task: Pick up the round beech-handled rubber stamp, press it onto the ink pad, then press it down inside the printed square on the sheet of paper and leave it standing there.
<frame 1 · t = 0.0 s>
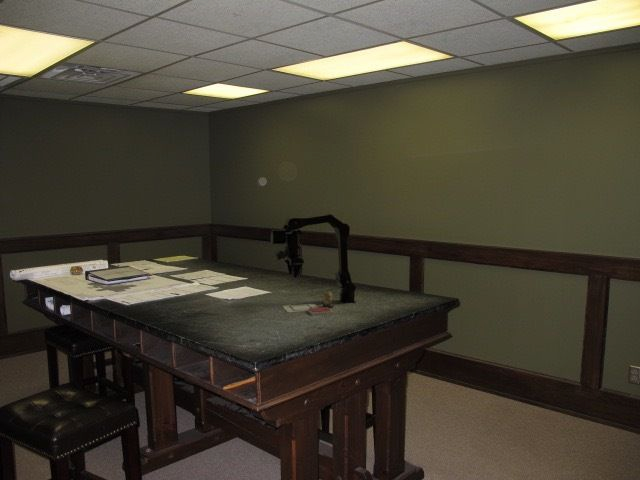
hand: (292, 275, 245), 14 cm above the table, tool pointing down, fingers open, 9 cm apart
stamp: (327, 307, 243), on the table
paper: (301, 308, 240), on the table
ink pad: (319, 312, 233), on the table
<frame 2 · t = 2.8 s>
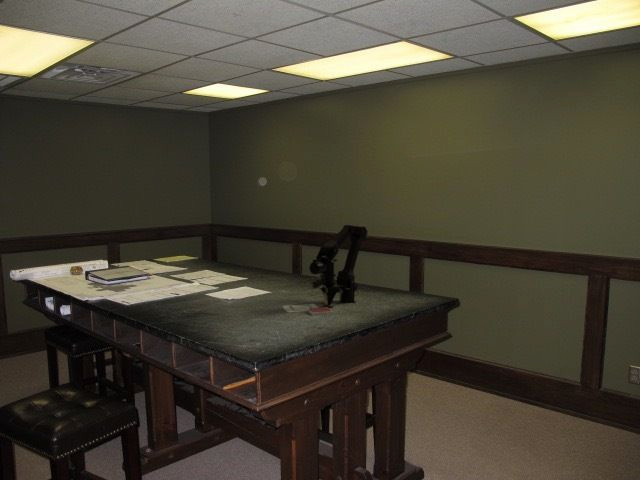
hand: (328, 303, 243), 2 cm above the table, tool pointing down, fingers closed on stamp, 4 cm apart
stamp: (327, 307, 243), on the table, touching gripper
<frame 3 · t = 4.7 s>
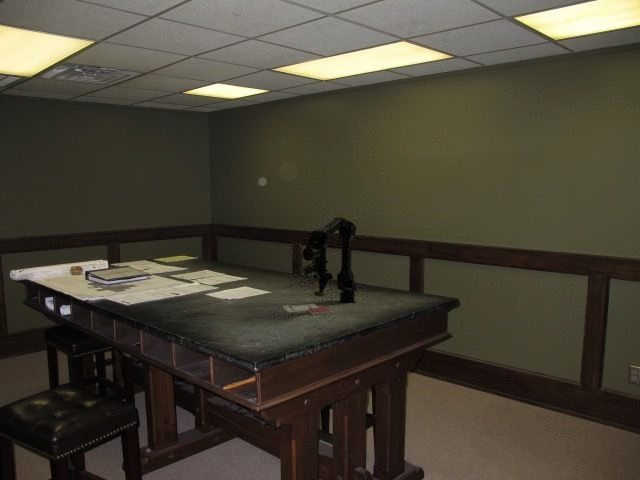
hand: (319, 291, 232), 10 cm above the table, tool pointing down, fingers closed on stamp, 4 cm apart
stamp: (319, 295, 232), point 8 cm above the table, touching gripper
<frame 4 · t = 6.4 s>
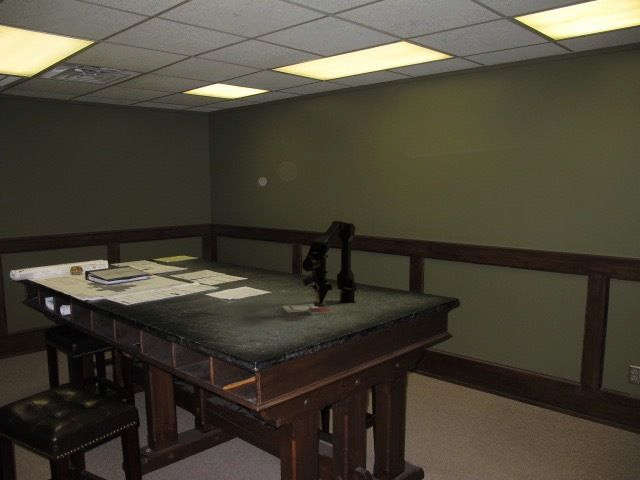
hand: (319, 302, 232), 5 cm above the table, tool pointing down, fingers closed on stamp, 4 cm apart
stamp: (319, 305, 232), point 3 cm above the table, touching gripper
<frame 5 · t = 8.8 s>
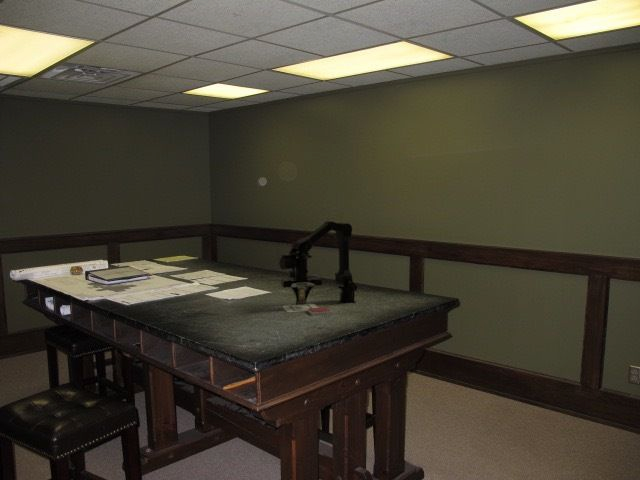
hand: (301, 300, 240), 4 cm above the table, tool pointing down, fingers closed on stamp, 4 cm apart
stamp: (301, 303, 240), point 2 cm above the table, touching gripper
when the fingers open (2 cm above the table, at t = 10.4 s): stamp stays where it is, resting on paper.
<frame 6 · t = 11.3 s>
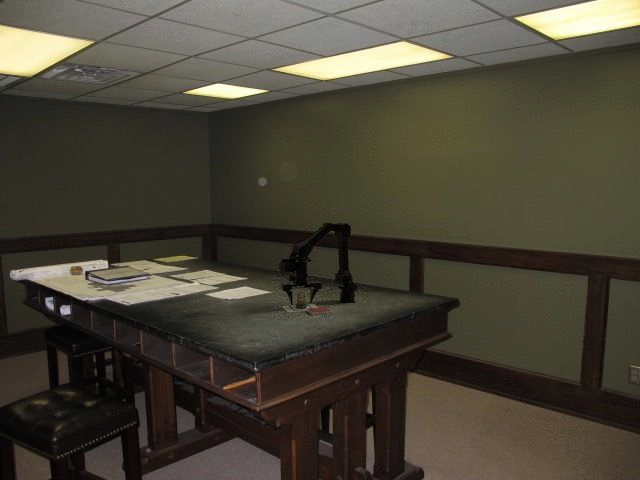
hand: (301, 304, 240), 2 cm above the table, tool pointing down, fingers open, 9 cm apart
stamp: (301, 307, 240), resting on paper
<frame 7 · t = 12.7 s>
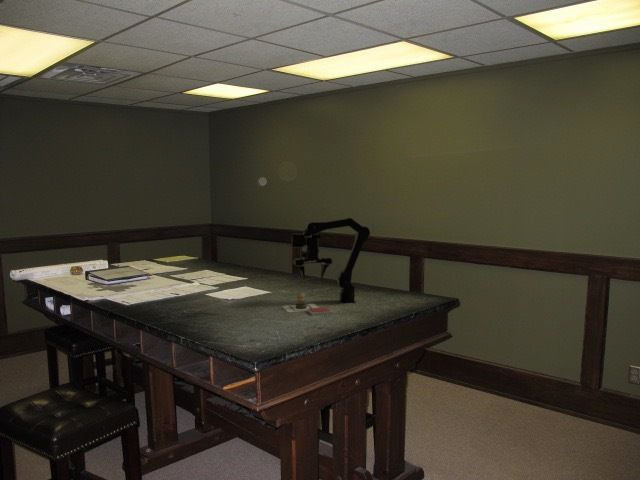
hand: (312, 278, 252), 12 cm above the table, tool pointing down, fingers open, 9 cm apart
nothing on the table moved.
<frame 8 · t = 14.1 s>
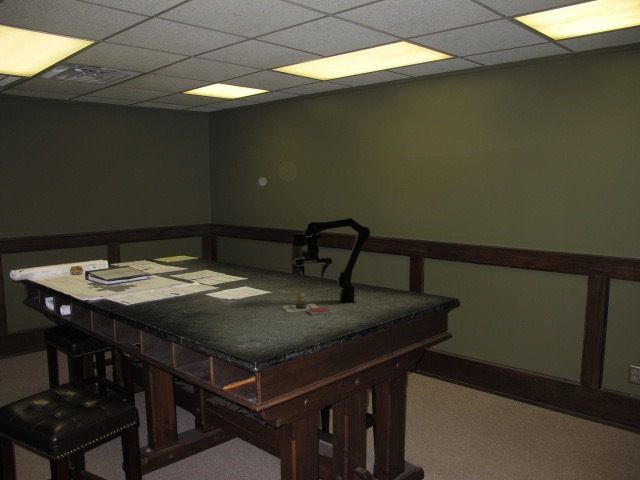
hand: (312, 278, 252), 12 cm above the table, tool pointing down, fingers open, 9 cm apart
nothing on the table moved.
at the end: stamp 0.1 cm off-centre on the paper, point 0.3 cm above the paper's base; stamp tilted 0°; the gripper is holding nothing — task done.
